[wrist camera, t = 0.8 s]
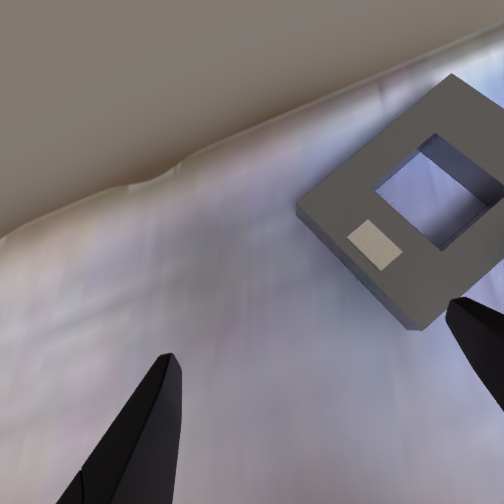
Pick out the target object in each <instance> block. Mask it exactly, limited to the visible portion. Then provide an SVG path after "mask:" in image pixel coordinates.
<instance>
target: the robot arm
mask: <svg viewBox="0 0 504 504" xmlns="http://www.w3.org/2000/svg"><path fill="white" fill-rule="evenodd" d="M445 319H446V323H447V325H448V327H449V328H450V330H451V332H452V334H453V335H454V337H455V339H456V341H457V342H458V344H459V346H460V348H461V349H462V351H463V353H464V354H465V356H466V358H467V360H468V361H469V363H470V365H471V366H472V368H473V369H474V371H475V372H476V374H477V375H478V377H479V378H480V379H481V381H482V382H483V384H484V385H485V386H486V388H487V389H488V390H489V392H490V393H491V395H492V396H493V397H494V399H495V400H496V402H497V403H498V404H499V406H500V407H501V409H502V410H503V411H504V314H502V313H500V312H497V311H495V310H493V309H491V308H489V307H487V306H485V305H482V304H480V303H478V302H476V301H474V300H472V299H469V298H467V297H459V298H454V299H451V300H450V301H449V305H448V308H447V312H446V316H445ZM181 420H182V370H181V367H180V365H179V363H178V361H177V359H176V357H175V355H174V354H173V353H166V354H162V355H160V356H159V357H158V358H157V359H156V361H155V362H154V364H153V365H152V367H151V368H150V370H149V371H148V372H147V374H146V375H145V377H144V378H143V380H142V381H141V382H140V384H139V385H138V387H137V388H136V390H135V391H134V393H133V394H132V395H131V397H130V398H129V400H128V401H127V403H126V404H125V406H124V407H123V408H122V410H121V411H120V413H119V414H118V416H117V417H116V418H115V420H114V421H113V423H112V424H111V426H110V427H109V429H108V430H107V431H106V433H105V434H104V436H103V437H102V439H101V440H100V441H99V443H98V444H97V446H96V447H95V449H94V450H93V452H92V453H91V454H90V456H89V457H88V459H87V460H86V462H85V463H84V464H83V466H82V468H81V470H80V471H79V472H78V473H77V474H76V476H75V477H74V479H73V480H72V482H71V483H70V484H69V486H68V487H67V489H66V490H65V491H64V493H63V494H62V496H61V497H60V498H59V500H58V501H57V503H56V504H172V501H173V492H174V484H175V475H176V466H177V458H178V449H179V440H180V432H181Z"/></svg>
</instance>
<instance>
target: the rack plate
mask: <svg viewBox="0 0 504 504" xmlns="http://www.w3.org/2000/svg"><path fill="white" fill-rule="evenodd" d="M420 152H422V153H423V154H424V155H426V156H427V157H428V158H429V159H431V160H432V161H433V162H434V163H435V164H437V165H438V166H439V167H440V168H442V169H443V170H444V171H445V172H447V173H448V174H449V175H450V176H452V177H453V178H454V179H455V180H457V181H458V182H459V183H460V184H462V185H463V186H464V187H465V188H467V189H468V190H469V191H470V192H472V193H473V194H474V195H475V196H477V197H478V198H479V199H480V200H482V201H483V202H484V203H485V204H487V206H486V207H485V208H484V209H483V210H482V211H481V212H479V213H478V214H477V215H476V216H475V217H474V218H473V219H471V220H470V221H469V222H468V223H467V224H466V225H465V226H463V227H462V228H461V229H460V230H459V231H458V232H457V233H455V234H454V235H453V236H452V237H451V238H450V239H449V240H447V241H446V242H445V243H444V244H443V245H442V246H441V247H439V248H437V247H436V246H435V245H434V244H433V243H432V242H430V241H429V240H428V239H427V238H426V237H425V236H424V235H423V234H422V233H420V232H419V231H418V230H417V229H416V228H415V227H414V226H413V225H412V224H410V223H409V222H408V221H407V220H406V219H405V218H404V217H403V216H402V215H400V214H399V213H398V212H397V211H396V210H395V209H394V208H393V207H392V206H390V205H389V204H388V203H387V202H386V201H385V200H384V199H383V198H382V197H380V196H379V195H378V194H377V193H376V192H375V190H377V189H378V188H379V187H380V186H381V185H382V184H384V183H385V182H386V181H387V180H388V179H389V178H391V177H392V176H393V175H394V174H395V173H397V172H398V171H399V170H400V169H401V168H402V167H404V166H405V165H406V164H407V163H408V162H409V161H411V160H412V159H413V158H414V157H415V156H416V155H418V154H419V153H420ZM296 215H297V216H298V217H299V218H300V220H301V221H302V222H303V223H304V224H305V225H306V226H307V227H308V228H309V229H310V230H311V231H312V232H313V233H314V234H315V235H316V236H317V237H318V238H319V239H320V240H321V241H322V242H323V243H324V244H325V245H326V246H327V247H328V248H329V249H330V250H331V252H332V253H333V254H334V255H335V256H336V257H337V258H338V259H339V260H340V261H341V262H342V263H343V264H344V265H345V266H346V267H347V268H348V269H349V270H350V271H351V272H352V273H353V274H354V275H355V276H356V277H357V278H358V279H359V280H360V281H361V282H362V284H363V285H364V286H365V287H366V288H367V289H368V290H369V291H370V292H371V293H372V294H373V295H374V296H375V297H376V298H377V299H378V300H379V301H380V302H381V303H382V304H383V305H384V306H385V307H386V308H387V309H388V310H389V311H390V312H391V313H392V315H393V316H394V317H395V318H396V319H397V320H398V321H399V322H400V323H401V324H402V325H403V326H404V327H405V328H406V329H407V330H417V331H423V330H424V329H425V328H426V327H427V326H428V325H430V324H431V323H432V322H433V321H434V320H435V319H436V318H437V317H438V316H440V315H441V314H442V313H443V312H444V311H445V310H446V309H447V308H448V305H449V301H450V300H451V299H454V298H459V297H461V296H462V295H463V294H464V293H465V292H466V291H468V290H469V289H470V288H471V287H472V286H473V285H474V284H475V283H476V282H478V281H479V280H480V279H481V278H482V277H483V276H484V275H485V274H487V273H488V272H489V271H490V270H491V269H492V268H493V267H494V266H495V265H497V264H498V263H499V262H500V261H501V260H502V259H503V258H504V109H503V108H502V107H500V106H499V105H497V104H496V103H494V102H493V101H491V100H490V99H489V98H487V97H486V96H484V95H483V94H481V93H480V92H478V91H477V90H475V89H474V88H473V87H471V86H470V85H468V84H467V83H465V82H464V81H462V80H461V79H459V78H458V77H456V76H455V75H454V74H452V73H451V74H450V75H449V76H447V77H446V78H445V79H444V80H443V81H441V82H440V83H439V84H438V85H437V86H435V87H434V88H433V89H432V90H431V91H429V92H428V93H427V94H426V95H425V96H424V97H422V98H421V99H420V100H419V101H418V102H416V103H415V104H414V105H413V106H412V107H410V108H409V109H408V110H407V111H406V112H404V113H403V114H402V115H401V116H400V117H398V118H397V119H396V120H395V121H394V122H392V123H391V124H390V125H389V126H388V127H387V128H385V129H384V130H383V131H382V132H381V133H379V134H378V135H377V136H376V137H375V138H373V139H372V140H371V141H370V142H369V143H367V144H366V145H365V146H364V147H363V148H361V149H360V150H359V151H358V152H357V153H355V154H354V155H353V156H352V157H351V158H350V159H348V160H347V161H346V162H345V163H344V164H342V165H341V166H340V167H339V168H338V169H336V170H335V171H334V172H333V173H332V174H330V175H329V176H328V177H327V178H326V179H324V180H323V181H322V182H321V183H320V184H318V185H317V186H316V187H315V188H314V189H312V190H311V191H310V192H309V193H308V194H307V195H305V196H304V197H303V198H302V199H301V200H299V201H298V202H297V203H296Z"/></svg>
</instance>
